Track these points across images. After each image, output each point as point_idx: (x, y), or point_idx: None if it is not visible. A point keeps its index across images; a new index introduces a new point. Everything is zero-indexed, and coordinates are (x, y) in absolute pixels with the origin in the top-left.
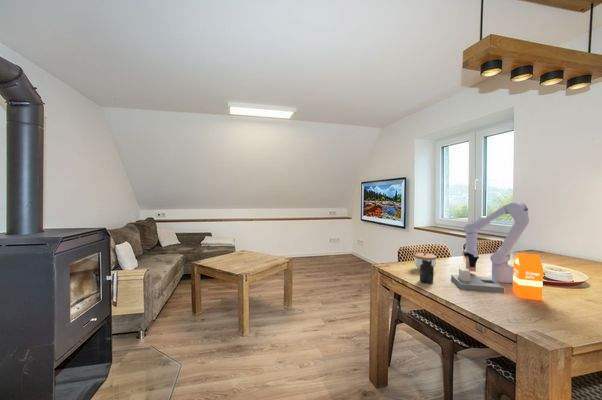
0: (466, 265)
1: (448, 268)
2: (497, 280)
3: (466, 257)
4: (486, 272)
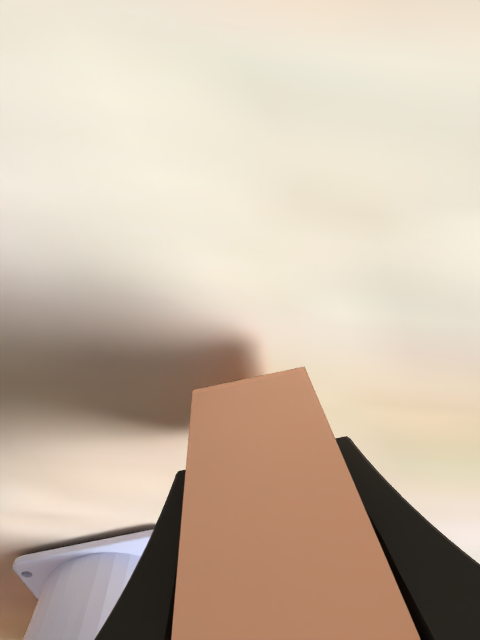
0: (289, 422)
1: (472, 72)
2: (46, 582)
3: (363, 618)
4: None
